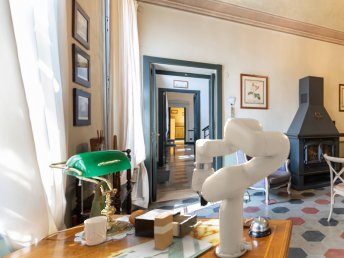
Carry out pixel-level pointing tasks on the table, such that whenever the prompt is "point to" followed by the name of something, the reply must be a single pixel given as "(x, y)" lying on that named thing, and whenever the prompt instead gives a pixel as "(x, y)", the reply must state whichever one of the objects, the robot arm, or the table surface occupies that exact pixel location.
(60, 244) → the table surface
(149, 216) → the cabinet
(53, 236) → the table surface
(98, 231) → the white cup
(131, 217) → the fruit
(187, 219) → the drawer
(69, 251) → the table surface
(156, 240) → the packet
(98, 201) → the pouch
